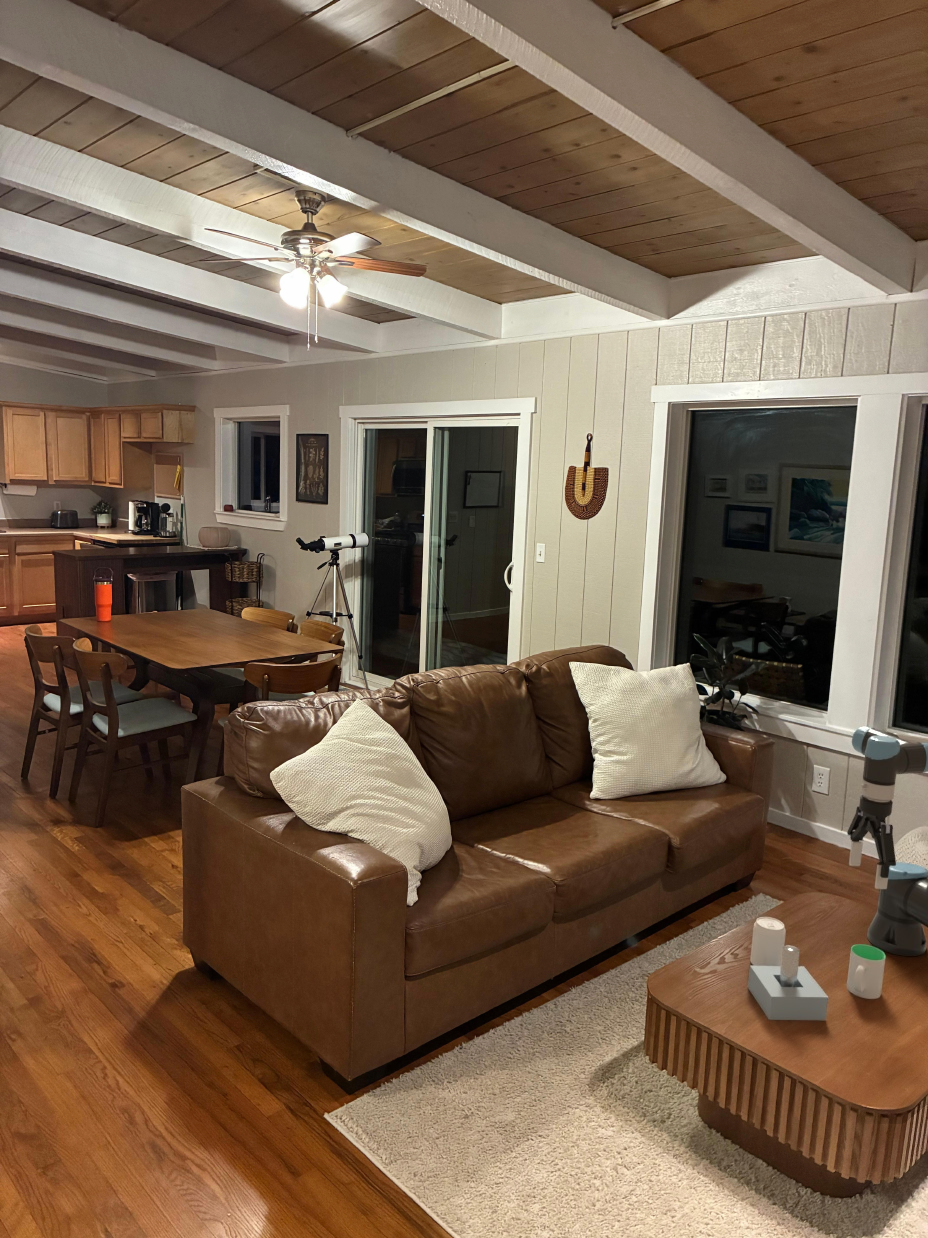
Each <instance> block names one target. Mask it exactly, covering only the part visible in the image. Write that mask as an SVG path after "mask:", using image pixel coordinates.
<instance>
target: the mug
mask: <svg viewBox="0 0 928 1238" xmlns="http://www.w3.org/2000/svg"><path fill="white" fill-rule="evenodd" d="M886 956H887V955H886V954H885V952H884V951H883V950H882V949H880V948H878V947H876V946H874V945H873V946H872V945H869V944H860V943H858V944H853V945H852V946H851V949H850V955H849V963H848V964H849V965H848V971H847V972H848V974H847V982H846V989H847V991H849V992H850V993H851V994H853V995H854V996H856V997H859V998H862V999H866V1000H867V999H869V1000H875V999H879V998H880V997H881V995H882V988H883V981H884V974H885V973H884V970H885V964H886Z"/></svg>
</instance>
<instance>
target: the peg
mask: <svg viewBox="0 0 928 1238" xmlns="http://www.w3.org/2000/svg"><path fill="white" fill-rule="evenodd" d="M800 956H801V950H800V948H798V946H797V947H796V946H794V945H789V944H786V945H784V946H783V951H782V960H781V969H780V979H779V984H780V985H781V987H796V984H797V974H798V966H799V963H800Z"/></svg>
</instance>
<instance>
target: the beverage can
mask: <svg viewBox="0 0 928 1238" xmlns="http://www.w3.org/2000/svg"><path fill="white" fill-rule="evenodd" d="M786 932H787V930H786V928H785V924H784V922H782V921H781V920H779V919H777V918H775V917H770V916H760V917H758V918H756V921H755V922H754V923H753V929H752V939H751V950H750V957H749V959H750V962H751V964H752V966H781V960H782V951H783V946H785V942H786Z"/></svg>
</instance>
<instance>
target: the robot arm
mask: <svg viewBox="0 0 928 1238" xmlns="http://www.w3.org/2000/svg"><path fill="white" fill-rule="evenodd" d="M851 745H852V748H853V749H854V750H855V751H856V752H858V753H860V754H862V755H863V756H864V763H863V773H862V783H861V784H860V786H861V787H860V788H861V790H860V793H861V795H860V796H859V805H858V806H856V809H855V814H854V816H853V819H852V820H851V823H850V825H849V827H848V829H847V831H846V832H847V833H846V834H847V836H850V837H849V839H850V841H851V845H850V850H849V851H850V852H849V860H848V866H850V867H860V866H861V861H862V854H863V844H864V843H863V841H865V840H864V837H865V836H866V835H867V834H868V833H869V834H870V835H871V838H872V839H873V840H874V843H875V848H876V852H877V856H878V860H879V862H877V866H876V872H875V873H876V874H875V880H874V881H875V882H874V889H875V890H879V892H878V901H877V902H878V903H877V911H876V913H875V915H874V917H873V919H872V921H871V923H870V924H869V926H868V929H867V935H866V936H867V940H868V941H869V942H870V943H871V945H873V946H874V947H875V948H878V949H880V950H881V951H883V952H884V951H885V952H887V953H890V954H894V955H898V956H904V957H917V956H921V955H924V954H925V953H926V951H927V939H926V933H925V930H924V927H926V928H928V869H927V868H926V867H925V866H923V865H919V864H914V863H910V862H900V861H899V862H897V861H896V852H895V845H894V835H893V830H894V826H893V824H887V821H886V818H888V817H889V816H891V815H892V811H893V802H894V801H893V800H894V796H895V795H894V793H895V787H896V781H897V780H896V779H897V775H906V774H907V775H909V774H923V773H928V738H926V737H922V736H914V735H909V734H902V733H896V732H889V731H884V730H879V729H876V727H870V726H868V725H867V726H865V725H864V726H861V727H858V728H857V729H856V730H854V733H853V734H852V737H851Z"/></svg>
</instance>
